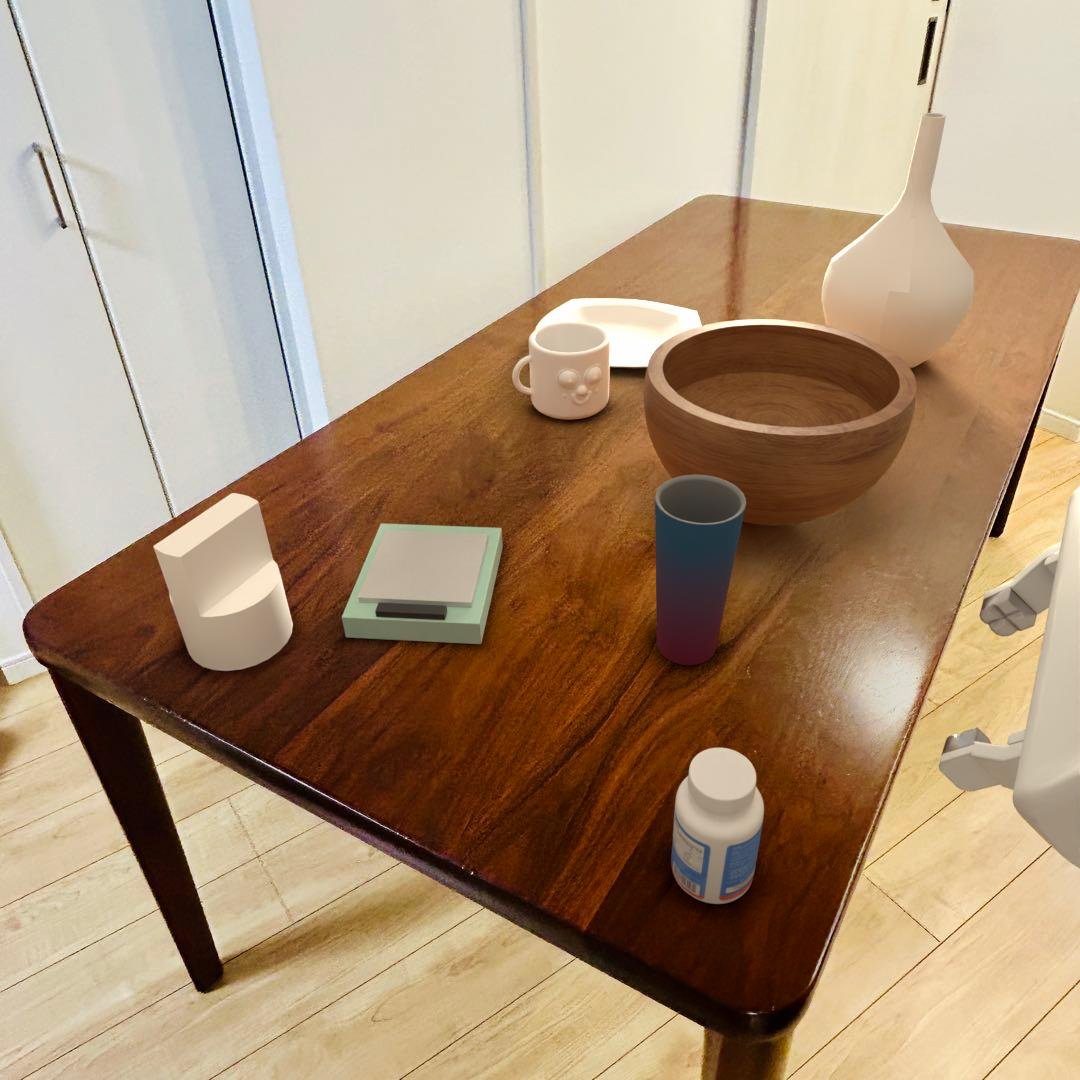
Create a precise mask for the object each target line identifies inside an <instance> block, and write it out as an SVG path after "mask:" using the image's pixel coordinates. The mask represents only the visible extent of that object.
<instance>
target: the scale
mask: <svg viewBox="0 0 1080 1080" xmlns="http://www.w3.org/2000/svg"><path fill="white" fill-rule="evenodd" d="M503 547H504V544H503V530H502V527H486V526H482V527H481V526H462V525H461V526H459V525H434V524H433V525H432V524H407V523H383V522H382V523H380V524H379V527H378V529H377V531H376V534H375V537H374V539H373V541H372V543H371V546H370V548H369V550H368V553H367V555H366V558H365V561H364V562H363V565H362V568H361V570H360V573H359V575H358V577H357V579H356V581H355V584H354V587H353V589H352V591H351V594H350V596H349V598H348V601H347V603H346V605H345V607H344V610H343V614H341V621H342V626H343V631H344V635H345V638H349V639H350V638H351V639H367V640H368V639H370V640H389V641H390V640H391V641H410V642H426V643H427V642H429V643H448V644H469V645H481V644H482V643H483V637H484V634H485V629H486V625H487V620H488V615H489V610H490V606H491V602H492V596H493V593H494V589H495V584H496V579H497V575H498V571H499V566H500V561H501V556H502V553H503Z"/></svg>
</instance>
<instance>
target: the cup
mask: <svg viewBox="0 0 1080 1080" xmlns="http://www.w3.org/2000/svg"><path fill="white" fill-rule="evenodd" d="M745 507H746V498H745V496H744V494H743V493H742V491H741V490H740V489H739V488H738V487H736V486H735V485H734V484H732V483H730V482H728V481H726V480H723V479H721V478H717V477H713V476H707V475H685V476H679V477H676V478H670V479H668V480H666V481H664V482H663V483H662V484H660V485H659V487H658V488H657V489H656V491H655V493H654V521H655V522H654V529H655V530H654V531H655V535H654V536H655V613H656V615H655V616H656V647H657V649H658V652H659V653H660V654H661V655H662V656H663V657H664V658H665V659H667V660H668V661H670V662H671V663H675V664H677V665H683V666H696V665H700V664H703V663H705V662H707V661H709V660H710V659H711V658H713V657H714V655H715V653H716V650H717V646H718V642H719V641H718V640H719V636H720V631H721V627H722V623H723V622H722V621H723V617H724V613H725V608H726V602H727V597H728V594H729V589H730V584H731V578H732V573H733V569H734V564H735V560H736V555H737V550H738V544H739V540H740V537H741V536H740V535H741V531H742V526H743V522H742V521H743V517H744V512H745Z"/></svg>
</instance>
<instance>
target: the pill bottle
mask: <svg viewBox="0 0 1080 1080" xmlns="http://www.w3.org/2000/svg"><path fill="white" fill-rule="evenodd" d="M673 812H674V813H673V830H672V845H671V855H670V857H671V858H670V864H671V871H672V874H673V877H674V879H675V881H676V882H677V884H678V886H680V888H681V889H682V890H683V891H684V892H685V893H687V894H688V895H689V896H690V897H692V898H694V899H696V900H697V901H700V902H703V903H706V904H712V905H723V904H728V903H732V902H734V901H736V900H738V899H740V898H741V897H742V896H744V895H745V894H746V892H747V891H748V890H749V889H750V888H751V885H752V884H753V883H752V882H753V880H754V876H755V870H756V866H757V859H758V853H759V847H760V841H761V836H762V829H763V823H764V815H765V803H764V799H763V796H762V794H761V792H760V790H759V788H758V787H757V772H756V769H755V767H754V765H753V763H752V762H751V761H750V760H749V758H747V756H745V755H743V754H742V753H740V752H738V751H737V750H734V749H732V748H727V747H710V748H707V749H704V750H702V751H700V752H699V753H697V754H696V755H695V756H694V757H693V758H692V760H691V761H690V764H689V769H688V775H687V776H686V777H685V778H684V779H683V780H682V782H681V783H680V784H679V786H678V789H677V791H676V794H675V801H674V811H673Z"/></svg>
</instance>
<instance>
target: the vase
mask: <svg viewBox="0 0 1080 1080" xmlns="http://www.w3.org/2000/svg"><path fill="white" fill-rule="evenodd" d="M946 119H947V115H946V114H944V113H939V112H925V113H922V114H921V116H920V120H919V121H920V122H919V124H918V130H917V134H916V137H915V138H916V139H915V142H914V145H913V152H912V155H911V159H910V162H909V167H908V172H907V176H906V182H905V187H904V190H903V191H902V194H901V196H900V198H899V199H898V201H897V202H896V203H895V205H894V206H893V207H892V209H890V211H888V212H886V214H885V215H884V216H883V217H882V218H880V219H879V220H877V222H876V223H875V224H874V225H872V226H871V227H870V228H868V230H867V231H865V232H864V233H863V234H862V235H860V236H859V237H858V238H856V239H855V240H854V241H852V242H851V243H849V244H848V245H846V247H844V248H843V249H842V250H840V251H839V252H837V254H835V255H834V256H833V257H832V258H831V259H830V262H829V265H828V267H827V269H826V272H825V274H824V276H823V277H824V278H823V281H822V288H821V295H820V299H821V305H822V310H823V317H824V321H825V326H828V327H832V328H836V329H840V330H844V331H847V332H850V333H853V334H856V335H859V336H862V337H864V338H867V339H869V340H871V341H874V342H876V343H878V344H880V345H882V346H883V347H885V348H887V349H888V350H890V351H892V352H893V353H894V354H896V355H897V356H898V357H900V358H901V359H902V360H903V361H904V362H905V363H906V364H907V365H908V367H909V368H910V369H913V368H916V367H917V366H919V365H921V364H923V363H924V362H926V361H928V360H929V359H931V358H933V357H934V356H936V354H937V353H939V352H940V351H941V350H942V349H943V348H944V347H946V345H948V344H949V342H950V341H951V339H952V338H953V337H954V335H955V334H956V332H957V331H958V329H959V328H960V326H961V325H962V323H963V322H964V320H965V319H966V317H967V316H968V315H969V313H970V310H971V307H972V304H973V301H974V297H975V271H974V270H973V267H971V265H970V264H969V263H968V261H967V260H966V259H965V257H964V256H963V254H962V253H961V252H960V250H959V249H958V248H957V246H956V245H955V243H954V241H953V240H952V238H951V237H950V235H949V234H948V232H947V231H946V228H945V227H944V225H943V224H942V222H941V221H940V219H939V217H938V216H937V214H936V212H935V209H934V206H933V202H932V188H933V187H932V186H933V182H934V178H935V173H936V169H937V164H938V158H939V155H940V148H941V144H942V138H943V133H944V129H945V123H946Z"/></svg>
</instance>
